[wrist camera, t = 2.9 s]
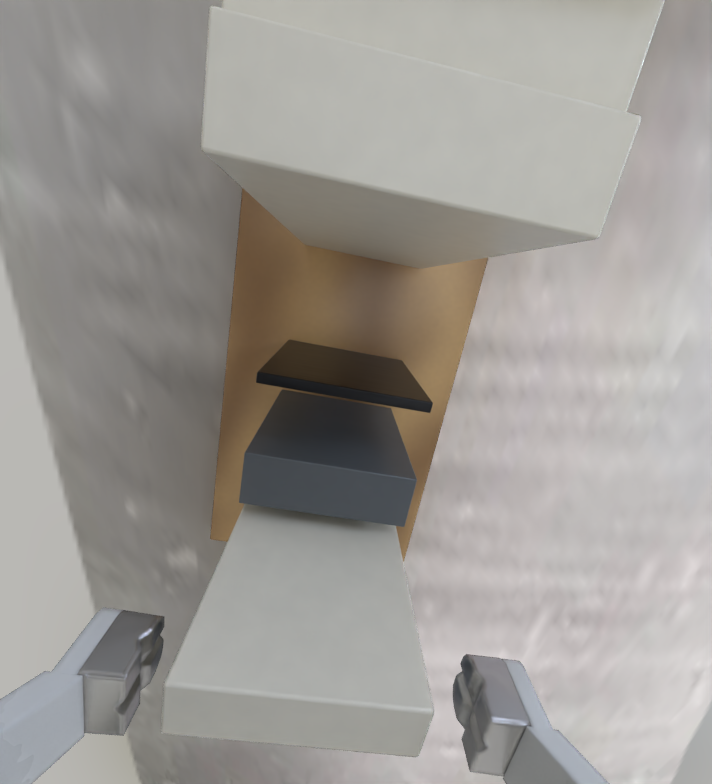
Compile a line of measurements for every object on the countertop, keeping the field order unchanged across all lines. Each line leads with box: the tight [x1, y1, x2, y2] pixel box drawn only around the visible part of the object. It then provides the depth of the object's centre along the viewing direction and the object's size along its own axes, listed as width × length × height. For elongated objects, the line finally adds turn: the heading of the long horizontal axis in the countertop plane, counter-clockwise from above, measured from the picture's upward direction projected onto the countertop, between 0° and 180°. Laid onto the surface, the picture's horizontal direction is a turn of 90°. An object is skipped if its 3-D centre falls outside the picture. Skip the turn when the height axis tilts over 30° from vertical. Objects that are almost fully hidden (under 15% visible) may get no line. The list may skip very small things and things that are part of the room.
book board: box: [210, 189, 488, 562], centre depth 20 cm, size 12×23×1 cm, turn 169°
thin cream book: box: [161, 504, 434, 757], centre depth 14 cm, size 6×2×13 cm, turn 79°
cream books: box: [201, 0, 665, 269], centre depth 11 cm, size 6×5×13 cm
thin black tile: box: [256, 340, 433, 413], centre depth 16 cm, size 6×1×7 cm, turn 79°
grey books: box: [239, 389, 417, 527], centre depth 17 cm, size 6×9×8 cm, turn 169°
